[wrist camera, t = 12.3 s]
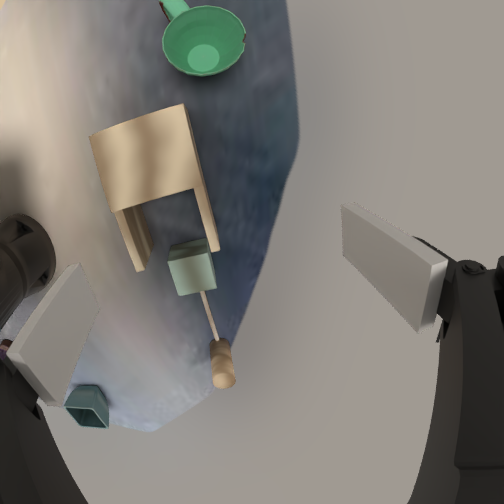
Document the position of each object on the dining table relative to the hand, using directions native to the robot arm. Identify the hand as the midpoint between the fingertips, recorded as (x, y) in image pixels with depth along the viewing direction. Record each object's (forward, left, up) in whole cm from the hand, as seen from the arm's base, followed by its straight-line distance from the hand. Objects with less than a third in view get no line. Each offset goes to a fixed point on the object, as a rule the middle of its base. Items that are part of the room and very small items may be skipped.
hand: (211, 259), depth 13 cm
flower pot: (-42, -41, -32) cm, 67 cm away
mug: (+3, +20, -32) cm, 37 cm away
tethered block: (-6, -23, -31) cm, 39 cm away
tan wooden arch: (-6, 0, -31) cm, 32 cm away
